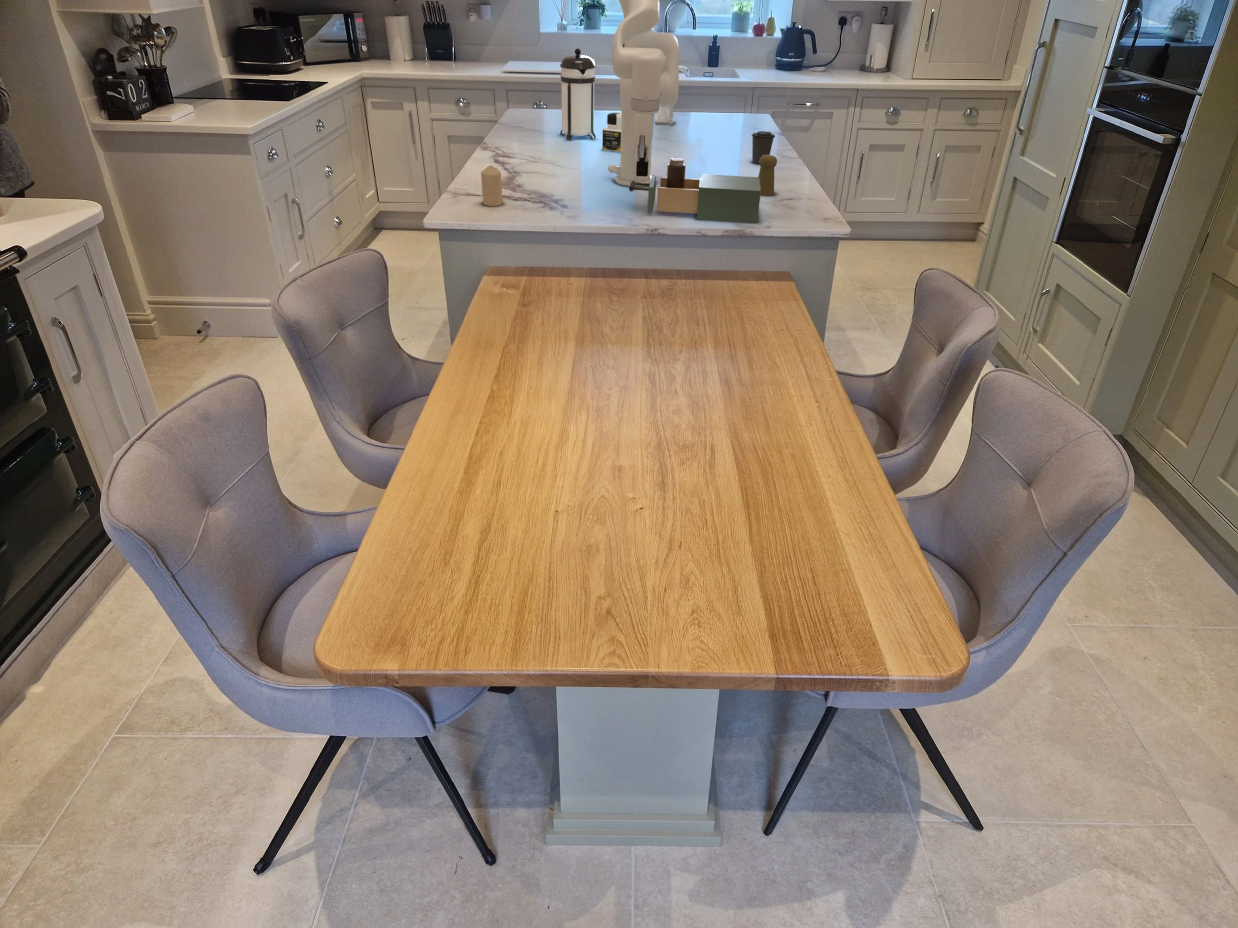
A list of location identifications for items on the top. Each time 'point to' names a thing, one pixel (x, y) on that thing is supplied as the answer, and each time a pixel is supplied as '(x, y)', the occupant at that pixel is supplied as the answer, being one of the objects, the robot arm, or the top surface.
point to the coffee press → (577, 95)
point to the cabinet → (728, 198)
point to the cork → (767, 174)
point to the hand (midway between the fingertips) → (641, 175)
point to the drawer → (671, 195)
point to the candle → (491, 186)
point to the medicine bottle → (612, 133)
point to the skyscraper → (665, 116)
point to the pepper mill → (676, 173)
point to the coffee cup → (761, 145)
